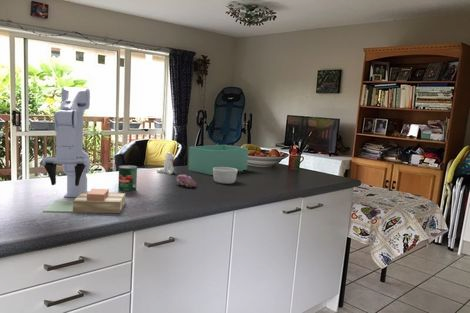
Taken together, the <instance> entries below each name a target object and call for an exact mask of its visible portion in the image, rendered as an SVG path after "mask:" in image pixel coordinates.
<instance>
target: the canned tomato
mask: <svg viewBox="0 0 470 313" xmlns="http://www.w3.org/2000/svg"><path fill="white" fill-rule="evenodd" d="M137 179H138V166H137V165H131V164H127V165H125V164H124V165H119V166H118V185H117V188H118V189H117V190H118V193H123V192H124V193H125V194H129V193H130V192H131V193H136V191H137Z"/></svg>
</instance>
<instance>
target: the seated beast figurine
mask: <svg viewBox="0 0 470 313" xmlns="http://www.w3.org/2000/svg"><path fill="white" fill-rule="evenodd" d="M175 157H176V155H175V154H173V153H172V152H169V151H168V152H167V153H166V154H165V156H164V159H165V160H164V162H163V165H164V167H160V168H158V169H156V172H157V174H167V175H172V174H173V173H174V170H175V168H174V165H173V161H172V160H173V159H174V158H175Z"/></svg>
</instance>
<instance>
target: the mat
mask: <svg viewBox="0 0 470 313" xmlns="http://www.w3.org/2000/svg"><path fill="white" fill-rule="evenodd" d="M73 201H74V200H64V199H63V200H62V199H56V200H54V202H52V203H51V204H49V206H47V207H46V208H44V209H43V210H42V213H74V212H73Z"/></svg>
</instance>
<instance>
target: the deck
mask: <svg viewBox="0 0 470 313" xmlns="http://www.w3.org/2000/svg"><path fill="white" fill-rule="evenodd" d="M87 193H88V192H82V193H81V194H80V195H79V196H78V197H75V198H74V200H72V201H73V212H72V213H101V214H102V213H103V214H106V213H107V214H108V213H109V214H112V213H115V214H120V213H121V212H122V209H123V208H124V206H125V205H126V193H123V192H109V194H108V195H107V197H106V198H105V199H104V200H87Z"/></svg>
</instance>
